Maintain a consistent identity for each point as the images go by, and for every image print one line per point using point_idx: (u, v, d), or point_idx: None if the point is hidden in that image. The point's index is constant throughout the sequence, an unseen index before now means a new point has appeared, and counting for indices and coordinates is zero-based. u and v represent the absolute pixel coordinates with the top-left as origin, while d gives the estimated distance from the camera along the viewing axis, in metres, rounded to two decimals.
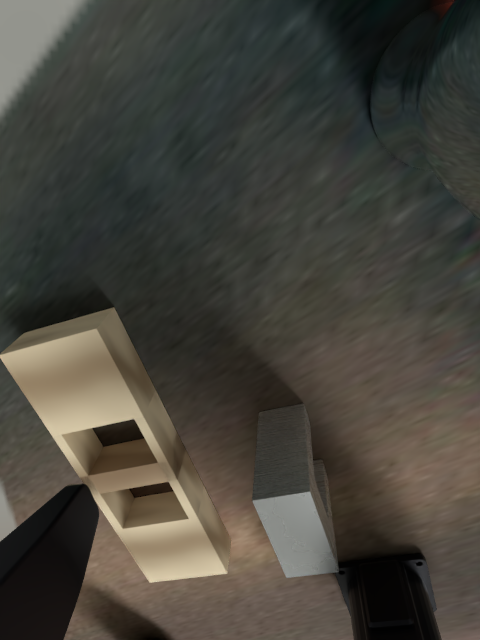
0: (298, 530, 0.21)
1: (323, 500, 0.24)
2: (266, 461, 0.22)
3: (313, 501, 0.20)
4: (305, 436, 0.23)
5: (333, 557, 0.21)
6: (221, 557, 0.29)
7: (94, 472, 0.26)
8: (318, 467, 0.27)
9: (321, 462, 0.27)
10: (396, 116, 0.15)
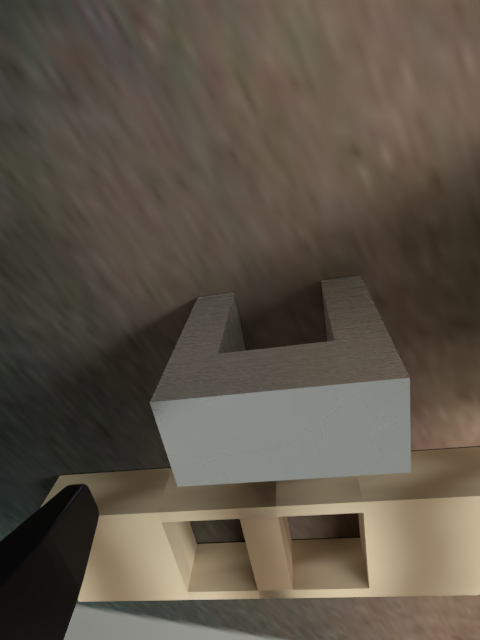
0: (259, 433, 0.10)
1: (329, 324, 0.12)
2: None
3: (179, 398, 0.10)
4: (183, 332, 0.13)
5: (357, 381, 0.09)
6: None
7: (257, 581, 0.20)
8: (322, 294, 0.15)
9: (321, 285, 0.15)
10: None
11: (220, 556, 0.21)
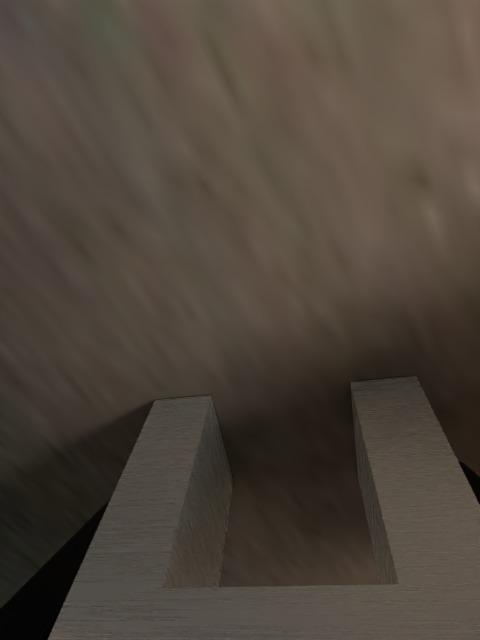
0: None
1: (378, 507, 0.07)
2: None
3: None
4: (114, 497, 0.08)
5: None
6: None
7: None
8: (355, 411, 0.09)
9: (352, 392, 0.09)
10: None
11: None
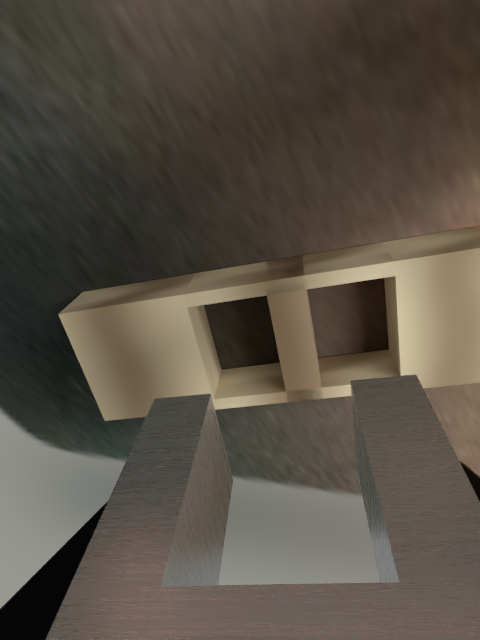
0: None
1: (378, 505, 0.07)
2: None
3: None
4: (113, 495, 0.08)
5: None
6: None
7: (284, 382, 0.19)
8: (355, 409, 0.09)
9: (352, 390, 0.09)
10: None
11: (245, 374, 0.21)
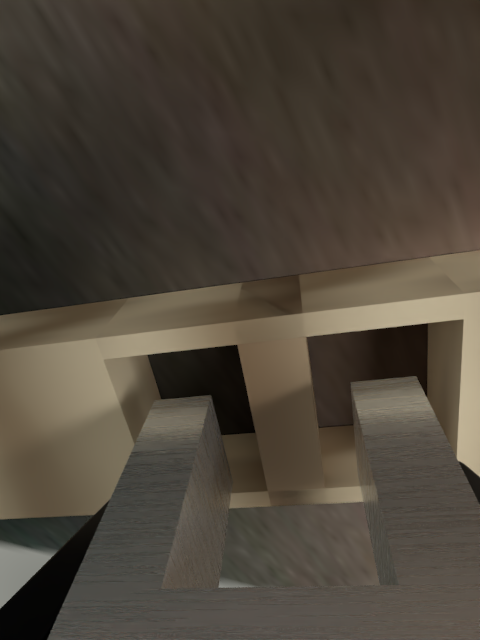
0: None
1: (378, 508, 0.07)
2: None
3: None
4: (114, 497, 0.08)
5: None
6: None
7: (266, 476, 0.12)
8: (355, 411, 0.09)
9: (352, 392, 0.09)
10: None
11: None
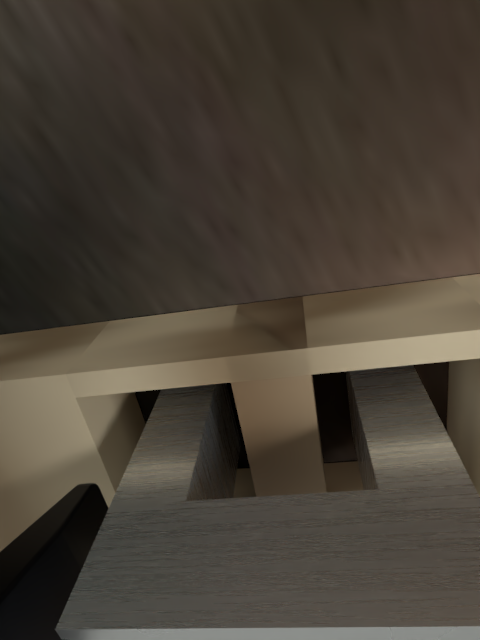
0: None
1: (364, 440, 0.08)
2: None
3: (107, 624, 0.06)
4: (141, 440, 0.09)
5: (438, 622, 0.05)
6: None
7: None
8: (347, 371, 0.10)
9: None
10: None
11: None
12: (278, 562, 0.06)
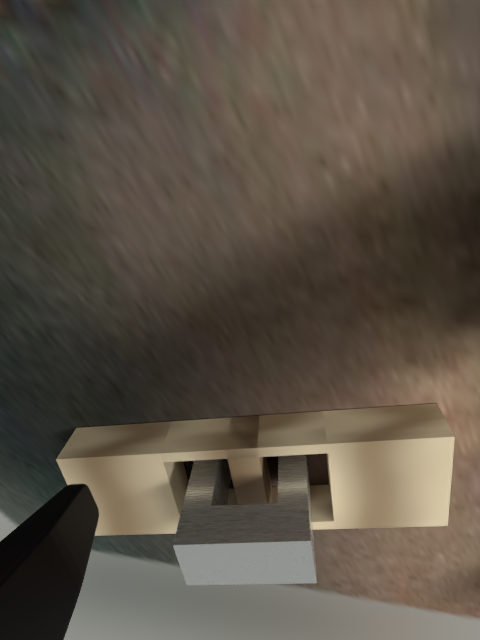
0: (233, 561, 0.19)
1: (278, 483, 0.21)
2: None
3: (189, 543, 0.18)
4: (190, 480, 0.22)
5: (284, 540, 0.18)
6: (422, 434, 0.20)
7: None
8: None
9: None
10: None
11: None
12: (242, 525, 0.19)
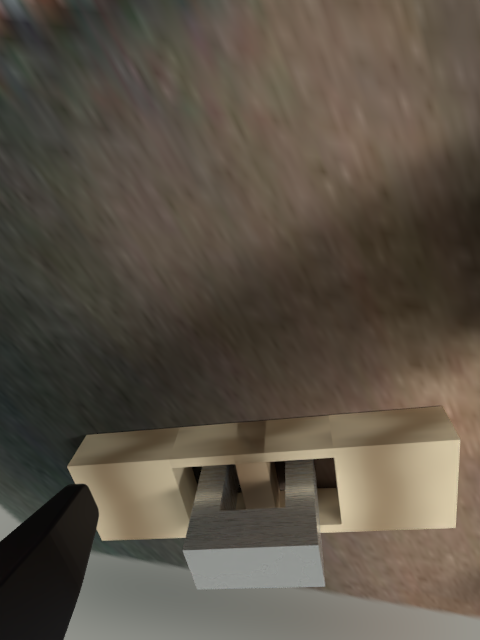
0: (242, 566, 0.19)
1: None
2: None
3: (198, 548, 0.19)
4: (198, 485, 0.22)
5: (292, 545, 0.18)
6: (428, 437, 0.20)
7: None
8: None
9: None
10: None
11: None
12: (250, 530, 0.19)
